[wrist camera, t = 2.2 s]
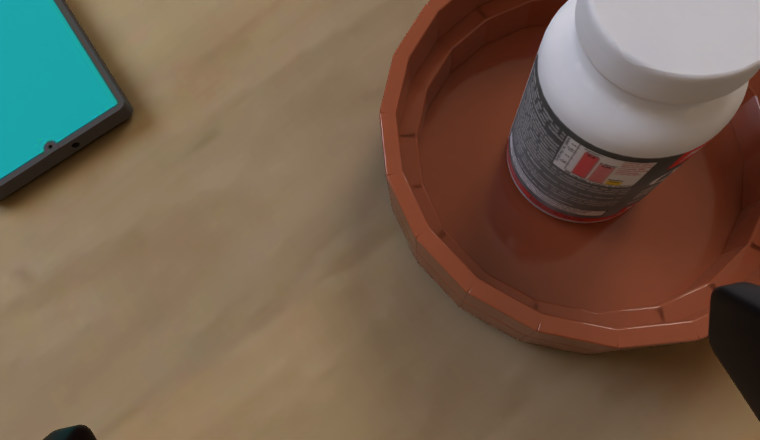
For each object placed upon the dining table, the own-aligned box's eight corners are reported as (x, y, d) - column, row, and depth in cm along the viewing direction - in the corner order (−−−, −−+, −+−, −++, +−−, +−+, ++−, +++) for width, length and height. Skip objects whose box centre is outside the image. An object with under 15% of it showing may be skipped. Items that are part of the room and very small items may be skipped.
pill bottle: (637, 242, 21) (812, 129, 12) (490, 207, 22) (541, 74, 12) (659, 111, 23) (831, -87, 13) (521, 82, 23) (587, -123, 14)
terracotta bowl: (778, 29, 23) (847, -40, 20) (766, 394, 20) (849, 397, 16) (426, -18, 25) (427, -88, 22) (351, 305, 22) (336, 289, 18)
